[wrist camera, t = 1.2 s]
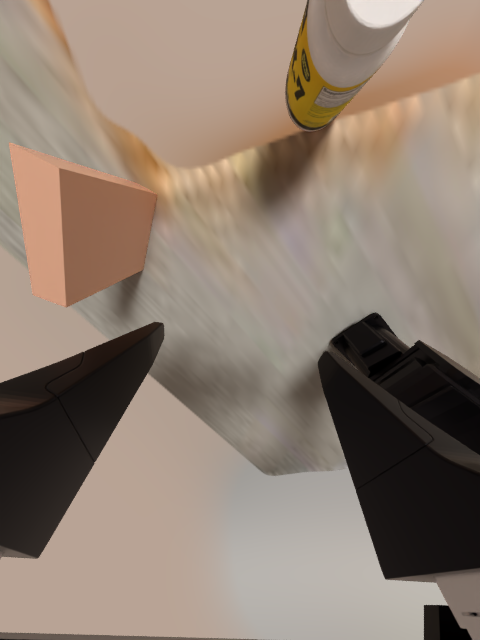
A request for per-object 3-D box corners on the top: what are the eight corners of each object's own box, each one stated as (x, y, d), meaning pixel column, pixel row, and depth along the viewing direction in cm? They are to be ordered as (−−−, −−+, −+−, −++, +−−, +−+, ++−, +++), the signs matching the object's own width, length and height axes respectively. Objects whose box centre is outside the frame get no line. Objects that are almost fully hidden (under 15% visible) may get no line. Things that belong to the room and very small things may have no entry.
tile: (157, 194, 17) (58, 167, 8) (143, 269, 20) (66, 307, 12) (132, 181, 16) (1, 138, 7) (123, 260, 20) (27, 293, 11)
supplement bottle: (287, 37, 12) (350, -252, 5) (358, 30, 12) (547, -289, 4) (281, 136, 14) (316, 50, 7) (340, 132, 14) (441, 38, 7)
